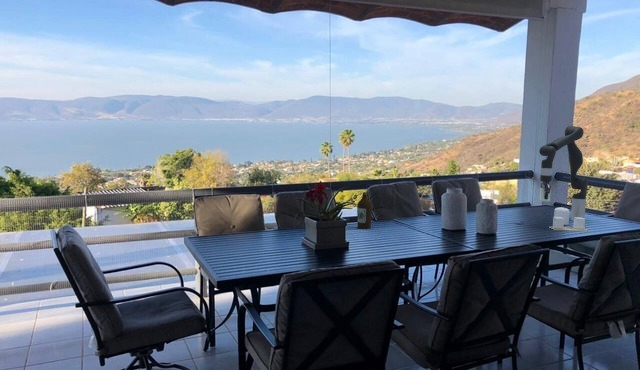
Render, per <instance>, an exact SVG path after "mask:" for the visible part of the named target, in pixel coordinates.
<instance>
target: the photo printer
mask: <svg viewBox="0 0 640 370" xmlns="http://www.w3.org/2000/svg"><path fill="white" fill-rule="evenodd" d="M553 217H562V218H564V226H569V224H570V222H569V221H570V209H568V208H566V207H563V206H561V207H556V208H555V209H554V213H553Z"/></svg>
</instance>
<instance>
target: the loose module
mask: <svg viewBox="0 0 640 370" xmlns="http://www.w3.org/2000/svg"><path fill="white" fill-rule="evenodd" d="M551 193H552V188H551V189H550V193H549V194H548V199H544V196H545V191H544V188H541V187H540V188H539V202H551Z"/></svg>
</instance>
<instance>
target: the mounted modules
mask: <svg viewBox="0 0 640 370" xmlns="http://www.w3.org/2000/svg"><path fill="white" fill-rule="evenodd" d="M585 226H586V218H582V217H574V221H573V225H572V227H574V228H576V229H585V228H586V227H585ZM552 227H554V228H564V227H565V225H564V218H562V217H554V216H553V218H552Z"/></svg>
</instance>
